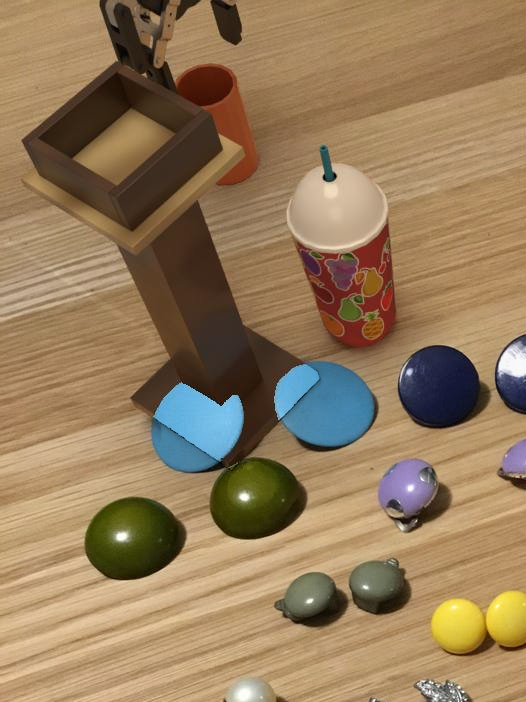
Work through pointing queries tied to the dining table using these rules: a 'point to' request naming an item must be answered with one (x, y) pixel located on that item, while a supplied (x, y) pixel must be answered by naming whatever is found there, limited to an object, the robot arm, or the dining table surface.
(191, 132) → the holder
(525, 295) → the dining table surface
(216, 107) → the cup
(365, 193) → the smoothie
